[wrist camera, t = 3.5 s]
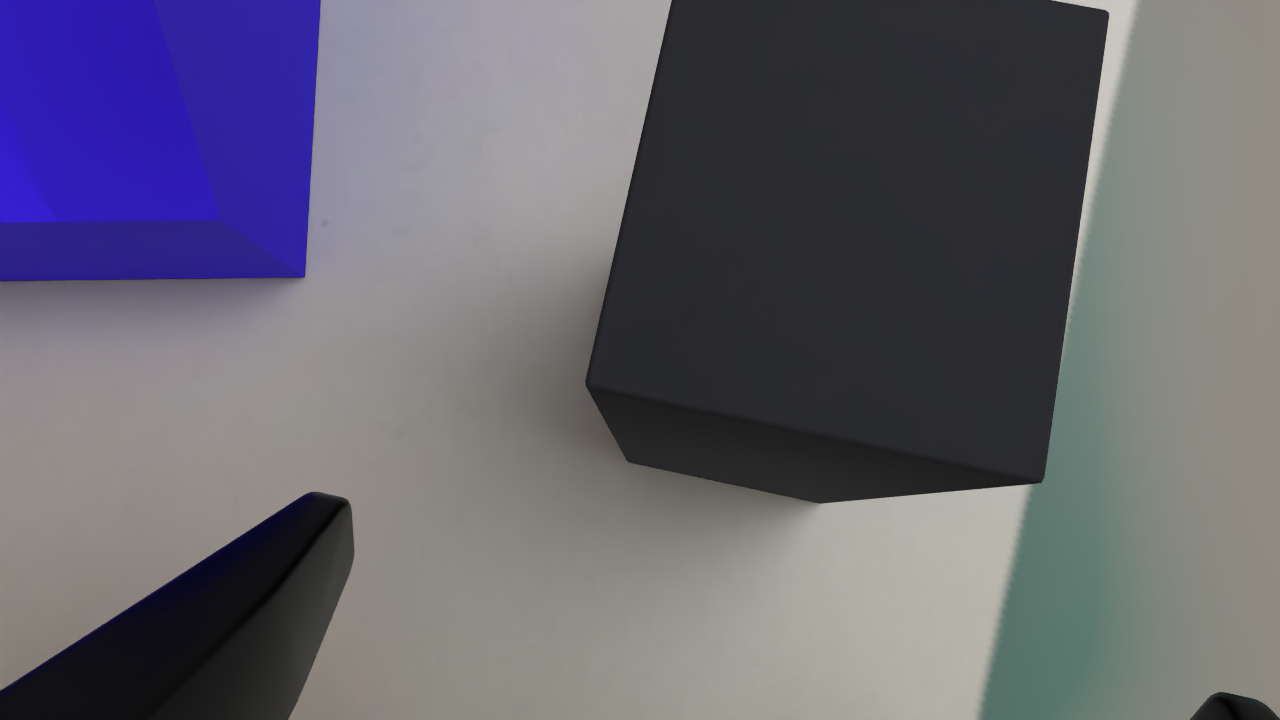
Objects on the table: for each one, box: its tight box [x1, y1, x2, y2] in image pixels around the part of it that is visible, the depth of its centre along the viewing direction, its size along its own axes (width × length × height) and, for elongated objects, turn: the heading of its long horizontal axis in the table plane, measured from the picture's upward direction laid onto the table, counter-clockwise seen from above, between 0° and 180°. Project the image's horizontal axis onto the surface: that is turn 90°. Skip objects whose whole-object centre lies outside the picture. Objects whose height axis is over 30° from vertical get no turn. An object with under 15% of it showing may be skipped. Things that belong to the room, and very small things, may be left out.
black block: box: [585, 0, 1109, 503], centre depth 15 cm, size 5×4×12 cm
